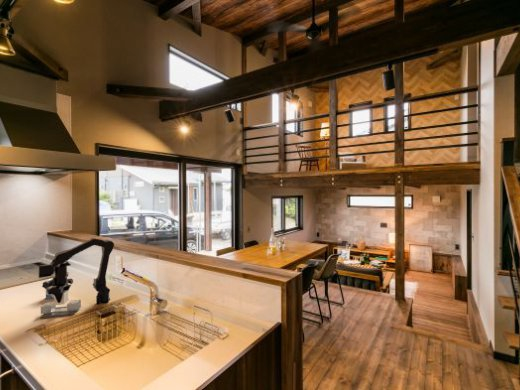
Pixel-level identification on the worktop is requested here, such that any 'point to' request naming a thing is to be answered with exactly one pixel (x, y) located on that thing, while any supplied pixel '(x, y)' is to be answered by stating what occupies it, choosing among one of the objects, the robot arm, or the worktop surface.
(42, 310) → the din rail
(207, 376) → the worktop surface
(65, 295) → the logic module
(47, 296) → the ink box
